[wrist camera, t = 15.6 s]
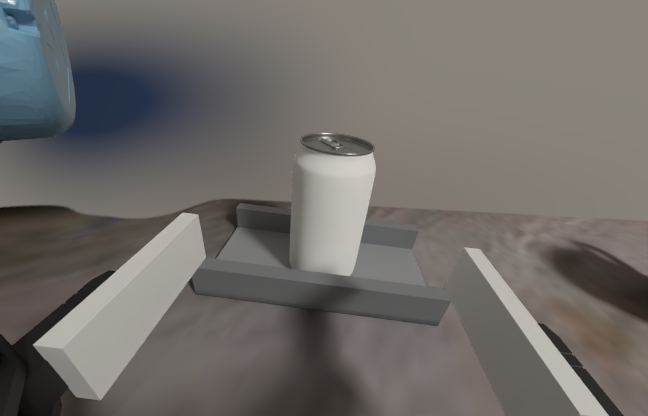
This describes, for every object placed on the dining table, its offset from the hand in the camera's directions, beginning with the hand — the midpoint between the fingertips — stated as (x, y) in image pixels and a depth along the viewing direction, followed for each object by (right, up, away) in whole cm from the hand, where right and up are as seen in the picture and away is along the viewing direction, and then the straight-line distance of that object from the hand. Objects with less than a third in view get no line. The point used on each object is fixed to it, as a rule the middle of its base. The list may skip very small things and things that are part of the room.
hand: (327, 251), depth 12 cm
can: (0, -3, +12) cm, 12 cm away
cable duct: (-1, -4, +12) cm, 13 cm away
